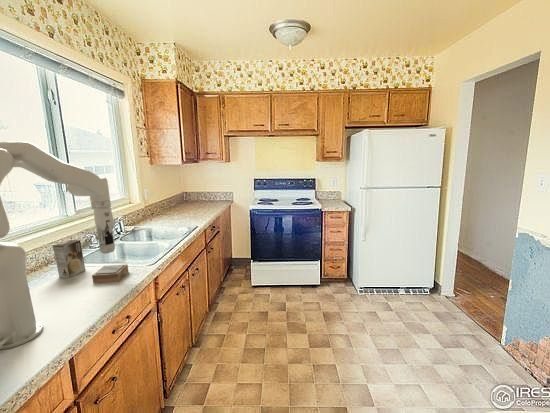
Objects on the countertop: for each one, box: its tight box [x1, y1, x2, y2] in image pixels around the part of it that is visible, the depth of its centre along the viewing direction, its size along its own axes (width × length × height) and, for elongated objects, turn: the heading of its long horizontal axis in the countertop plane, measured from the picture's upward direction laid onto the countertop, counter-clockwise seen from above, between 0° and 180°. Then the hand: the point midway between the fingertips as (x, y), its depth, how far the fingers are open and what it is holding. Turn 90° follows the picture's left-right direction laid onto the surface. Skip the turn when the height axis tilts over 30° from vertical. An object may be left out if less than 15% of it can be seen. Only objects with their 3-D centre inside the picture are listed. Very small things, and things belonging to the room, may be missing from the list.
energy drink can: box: [95, 223, 116, 254], centre depth 128 cm, size 6×6×15 cm
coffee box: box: [52, 239, 86, 279], centre depth 136 cm, size 9×6×16 cm
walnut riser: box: [91, 263, 129, 284], centre depth 131 cm, size 11×11×4 cm
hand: (106, 242), depth 128 cm, fingers closed on energy drink can, 6 cm apart
